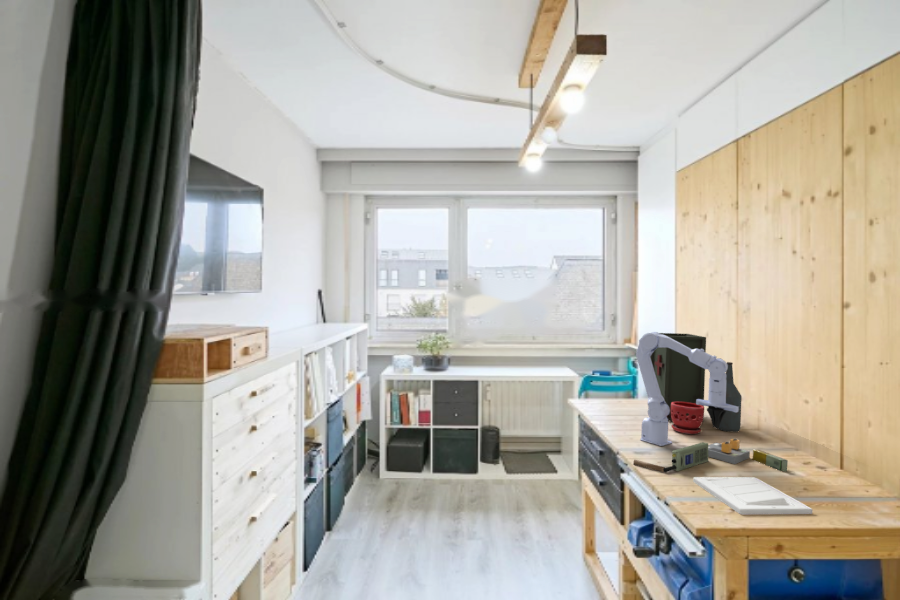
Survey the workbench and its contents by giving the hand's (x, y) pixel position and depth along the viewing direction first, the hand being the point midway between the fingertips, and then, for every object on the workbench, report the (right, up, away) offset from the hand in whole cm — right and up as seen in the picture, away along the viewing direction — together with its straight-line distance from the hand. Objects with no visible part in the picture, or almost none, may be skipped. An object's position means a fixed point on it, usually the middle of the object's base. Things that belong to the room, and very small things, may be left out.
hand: (716, 427), depth 182 cm
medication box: (+13, -11, -11) cm, 20 cm away
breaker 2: (+6, -7, -2) cm, 9 cm away
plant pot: (+3, -10, +29) cm, 31 cm away
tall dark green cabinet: (+10, -9, +55) cm, 57 cm away
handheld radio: (-18, -10, -14) cm, 25 cm away
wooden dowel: (-32, -8, -17) cm, 37 cm away
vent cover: (-11, -11, -38) cm, 42 cm away
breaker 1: (0, -7, -6) cm, 10 cm away
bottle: (+24, -10, +35) cm, 43 cm away
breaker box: (+2, -10, -3) cm, 11 cm away
